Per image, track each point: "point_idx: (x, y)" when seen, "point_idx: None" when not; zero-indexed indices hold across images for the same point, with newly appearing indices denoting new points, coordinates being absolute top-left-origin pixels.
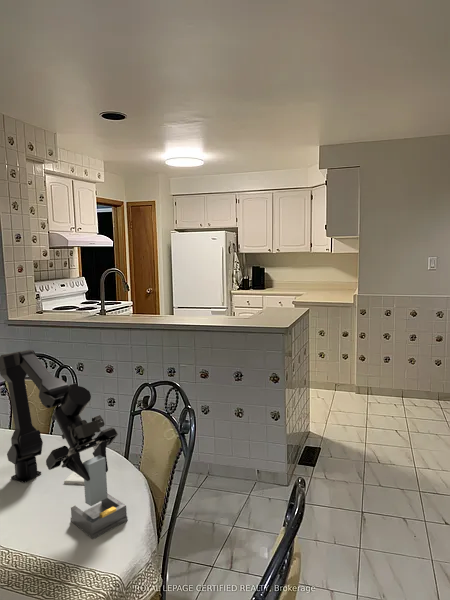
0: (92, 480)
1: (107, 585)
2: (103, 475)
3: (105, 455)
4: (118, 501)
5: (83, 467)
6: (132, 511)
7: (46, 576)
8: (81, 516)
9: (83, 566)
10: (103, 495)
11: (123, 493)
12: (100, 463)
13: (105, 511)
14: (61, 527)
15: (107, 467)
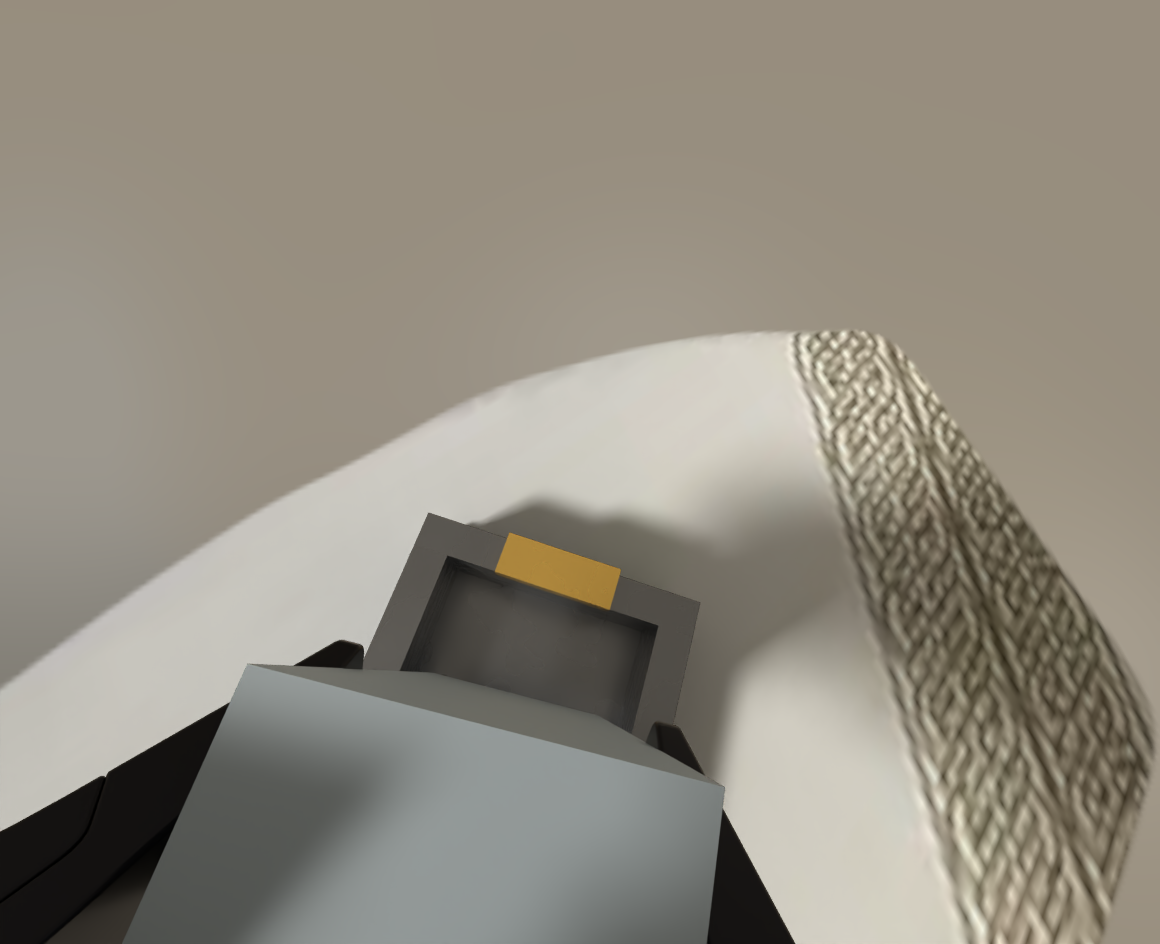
0: (593, 728)
1: (854, 346)
2: (417, 680)
3: (63, 810)
4: (398, 600)
5: (739, 933)
6: (352, 562)
7: (984, 623)
8: None
9: (840, 505)
10: (466, 683)
11: None
12: (412, 698)
13: (571, 582)
14: None
15: (308, 661)
